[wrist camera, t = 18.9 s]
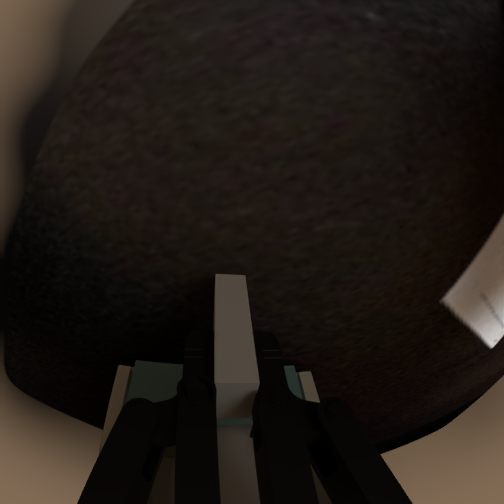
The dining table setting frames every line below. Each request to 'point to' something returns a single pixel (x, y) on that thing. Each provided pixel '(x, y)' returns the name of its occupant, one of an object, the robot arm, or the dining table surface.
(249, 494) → the cup
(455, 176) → the dining table surface
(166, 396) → the teal drawer
